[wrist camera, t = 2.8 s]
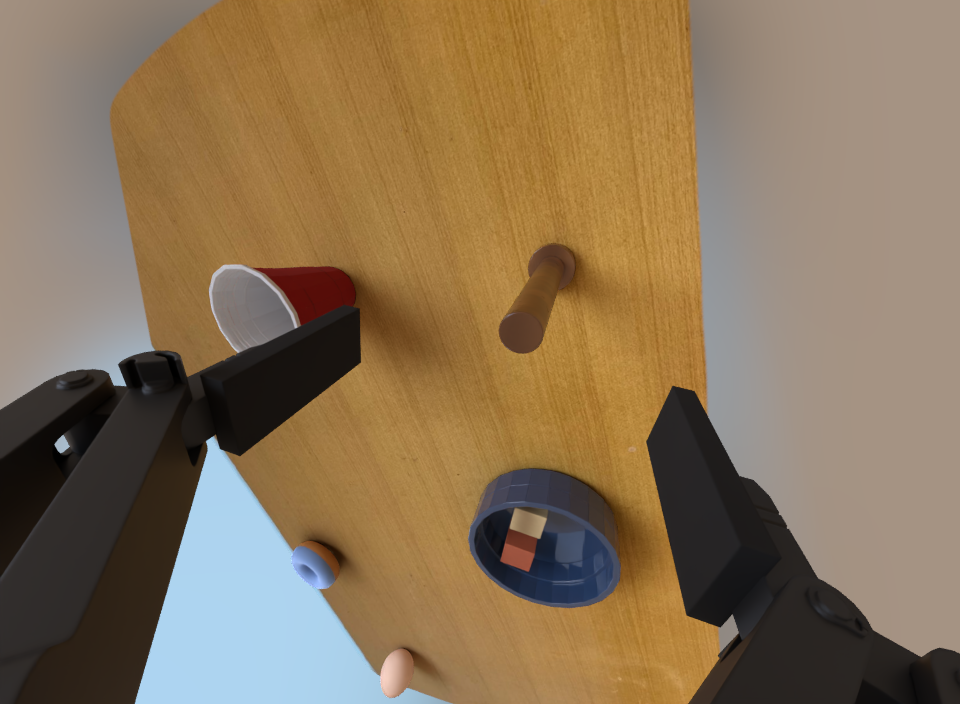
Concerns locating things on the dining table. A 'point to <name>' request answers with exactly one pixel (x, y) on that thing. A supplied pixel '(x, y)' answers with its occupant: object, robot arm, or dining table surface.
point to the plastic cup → (274, 300)
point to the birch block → (529, 520)
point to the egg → (396, 672)
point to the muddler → (537, 298)
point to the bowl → (549, 539)
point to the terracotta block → (519, 549)
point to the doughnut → (315, 564)
